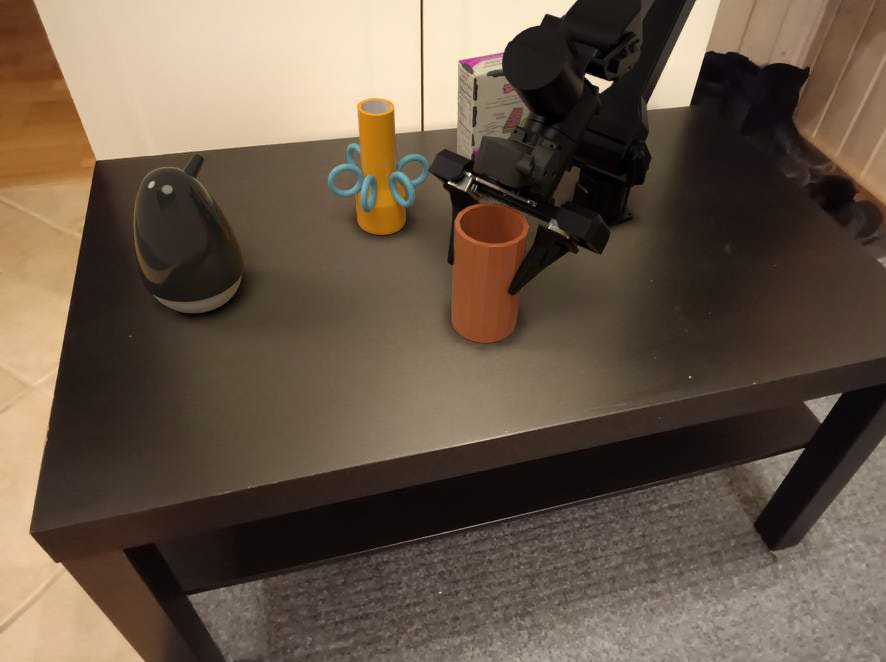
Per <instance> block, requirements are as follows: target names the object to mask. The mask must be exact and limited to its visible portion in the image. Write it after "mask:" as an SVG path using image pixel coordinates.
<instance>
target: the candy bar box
mask: <svg viewBox="0 0 886 662" xmlns="http://www.w3.org/2000/svg"><path fill="white" fill-rule="evenodd" d="M503 53H504V51H503V52H496V53H491V54H486V55H481V56H475V57H470V58H464V59H459V60H458V62H457V63H458V65H457V125H456V127H457V128H456V153H457V154H459V155H461V156H464V157H466V158H468V159H471V160H473V161H474V162H475V160H476V156H477V153H478V150H479V146H480V143H481V140H482V136H491V137H501V138H505V139H508V138H509V136H510V134H511V132H512V130H513V129H515V127H516V125H517V126H520V127H523V125H524V123H525V121H526V119H527V117H528V115H529V113H530V111H529V109H528V108H527V107H526V106H525V104H524V103H523V101H522V100H521V99H520V97H519V96H518V94H517V93H516V92H515V90H514V89H513V88H512V86H511V85H510V83H509V82H508V81H507V79H506V78H505V75H504V73H503V69H502V57H503ZM488 177H490V178H493V177H491V176H488ZM493 179H495V178H493ZM495 180H497V179H495Z"/></svg>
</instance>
